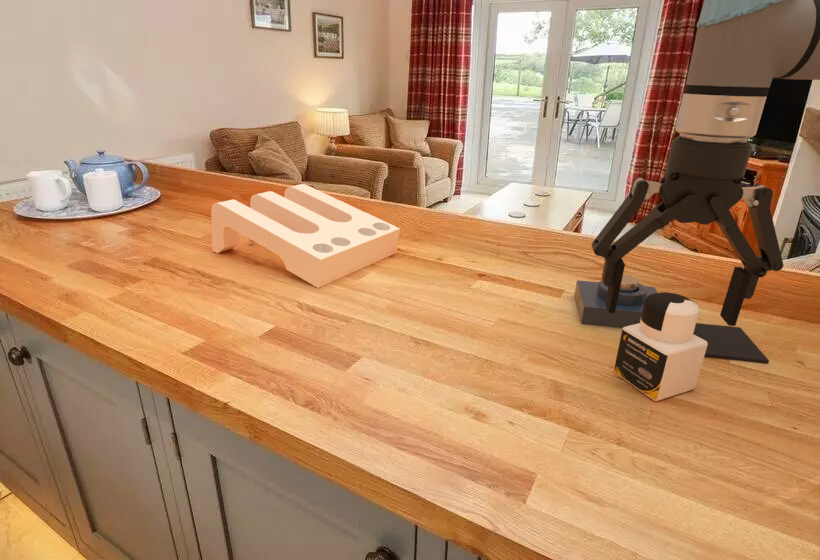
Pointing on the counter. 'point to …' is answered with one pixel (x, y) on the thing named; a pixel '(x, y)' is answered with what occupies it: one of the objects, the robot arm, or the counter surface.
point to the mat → (729, 343)
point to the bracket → (306, 232)
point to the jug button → (629, 284)
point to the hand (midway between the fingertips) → (667, 314)
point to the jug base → (595, 310)
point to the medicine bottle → (662, 347)
